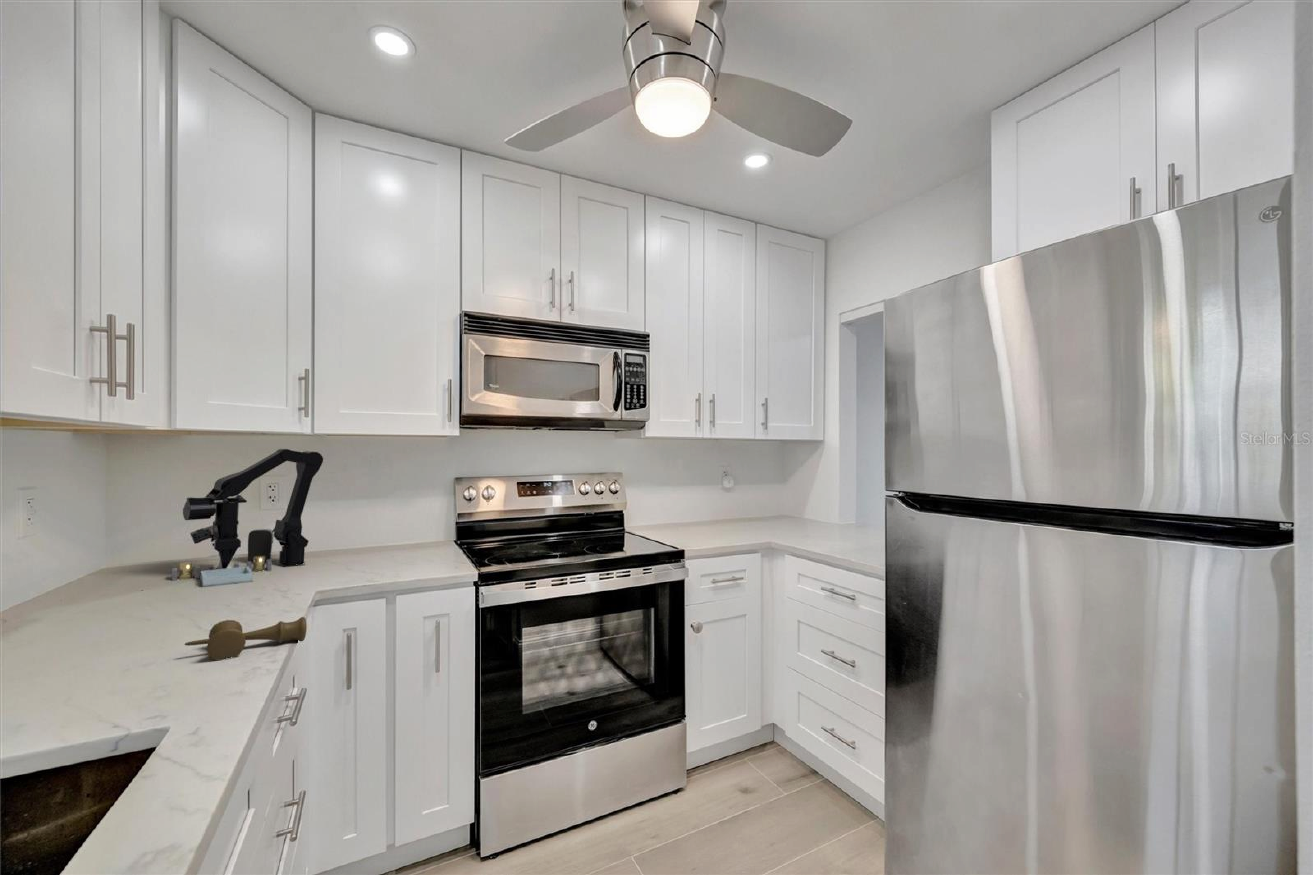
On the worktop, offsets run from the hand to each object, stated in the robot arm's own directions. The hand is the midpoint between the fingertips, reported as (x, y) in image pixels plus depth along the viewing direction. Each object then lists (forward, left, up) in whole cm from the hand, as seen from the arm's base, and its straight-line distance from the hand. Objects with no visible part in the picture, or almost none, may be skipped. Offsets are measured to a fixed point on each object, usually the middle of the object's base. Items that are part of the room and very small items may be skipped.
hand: (224, 567), depth 171 cm
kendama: (+2, +79, -3) cm, 79 cm away
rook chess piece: (0, 0, -2) cm, 2 cm away
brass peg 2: (-9, 0, -2) cm, 9 cm away
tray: (0, +10, -2) cm, 10 cm away
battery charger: (-11, -15, -2) cm, 19 cm away
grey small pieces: (0, 0, -2) cm, 2 cm away
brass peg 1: (+9, 0, -2) cm, 9 cm away
